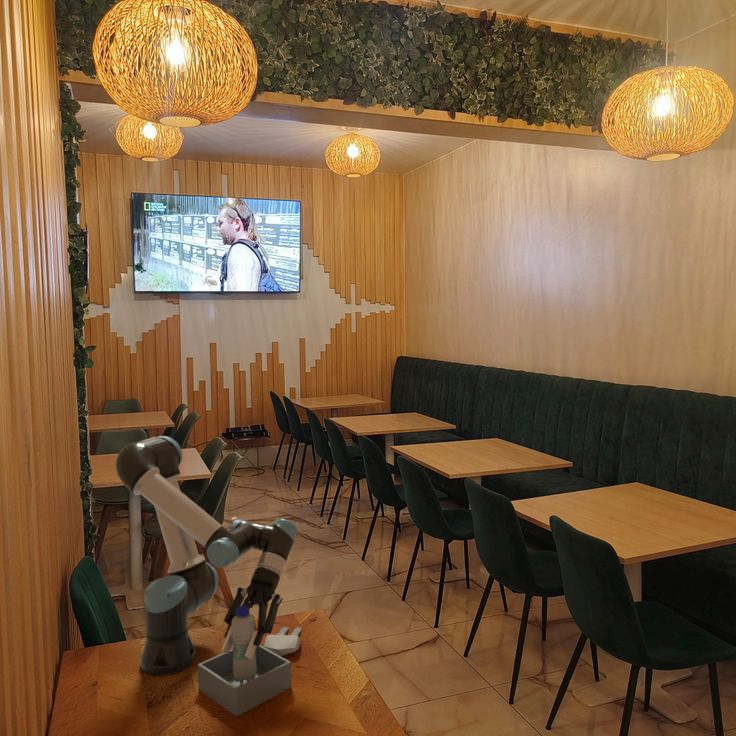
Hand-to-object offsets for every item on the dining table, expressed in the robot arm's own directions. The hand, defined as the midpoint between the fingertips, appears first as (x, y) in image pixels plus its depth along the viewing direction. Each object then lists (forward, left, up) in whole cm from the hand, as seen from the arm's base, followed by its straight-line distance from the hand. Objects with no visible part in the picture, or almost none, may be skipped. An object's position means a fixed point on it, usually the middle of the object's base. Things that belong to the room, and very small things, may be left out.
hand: (236, 654), depth 167 cm
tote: (-1, +3, -11) cm, 12 cm away
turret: (-12, +26, -12) cm, 31 cm away
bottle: (-1, +3, -9) cm, 9 cm away
